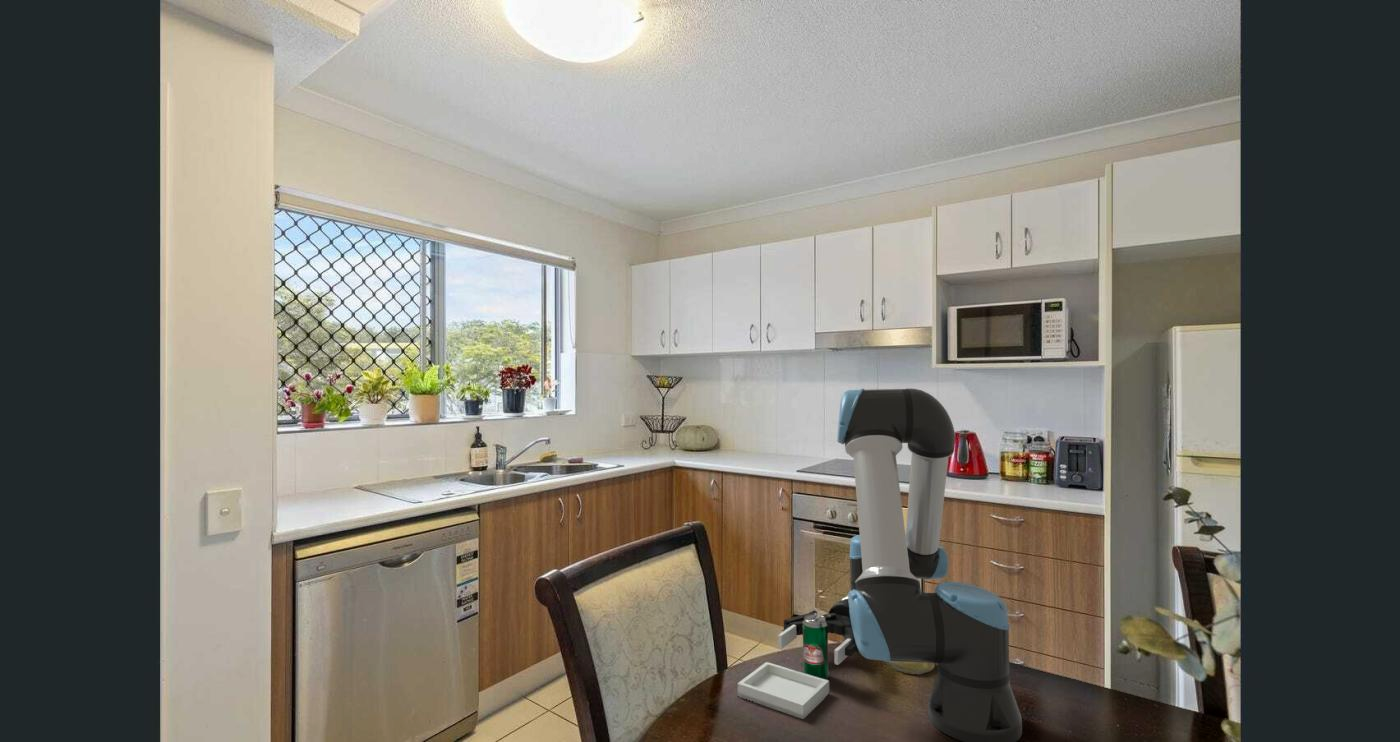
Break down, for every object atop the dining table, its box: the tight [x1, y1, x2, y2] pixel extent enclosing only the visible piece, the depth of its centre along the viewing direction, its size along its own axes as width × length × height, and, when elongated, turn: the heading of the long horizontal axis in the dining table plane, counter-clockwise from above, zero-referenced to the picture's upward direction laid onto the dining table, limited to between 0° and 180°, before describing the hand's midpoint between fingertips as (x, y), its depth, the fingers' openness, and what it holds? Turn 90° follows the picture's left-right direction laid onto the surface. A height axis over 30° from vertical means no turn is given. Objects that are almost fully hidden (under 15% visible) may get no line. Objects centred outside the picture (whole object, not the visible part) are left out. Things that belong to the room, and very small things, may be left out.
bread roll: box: [889, 661, 936, 675], centre depth 130 cm, size 8×9×4 cm
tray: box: [737, 661, 830, 720], centre depth 119 cm, size 14×11×2 cm
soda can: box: [802, 614, 830, 680], centre depth 126 cm, size 5×5×12 cm
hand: (807, 649), depth 123 cm, fingers open, 12 cm apart
